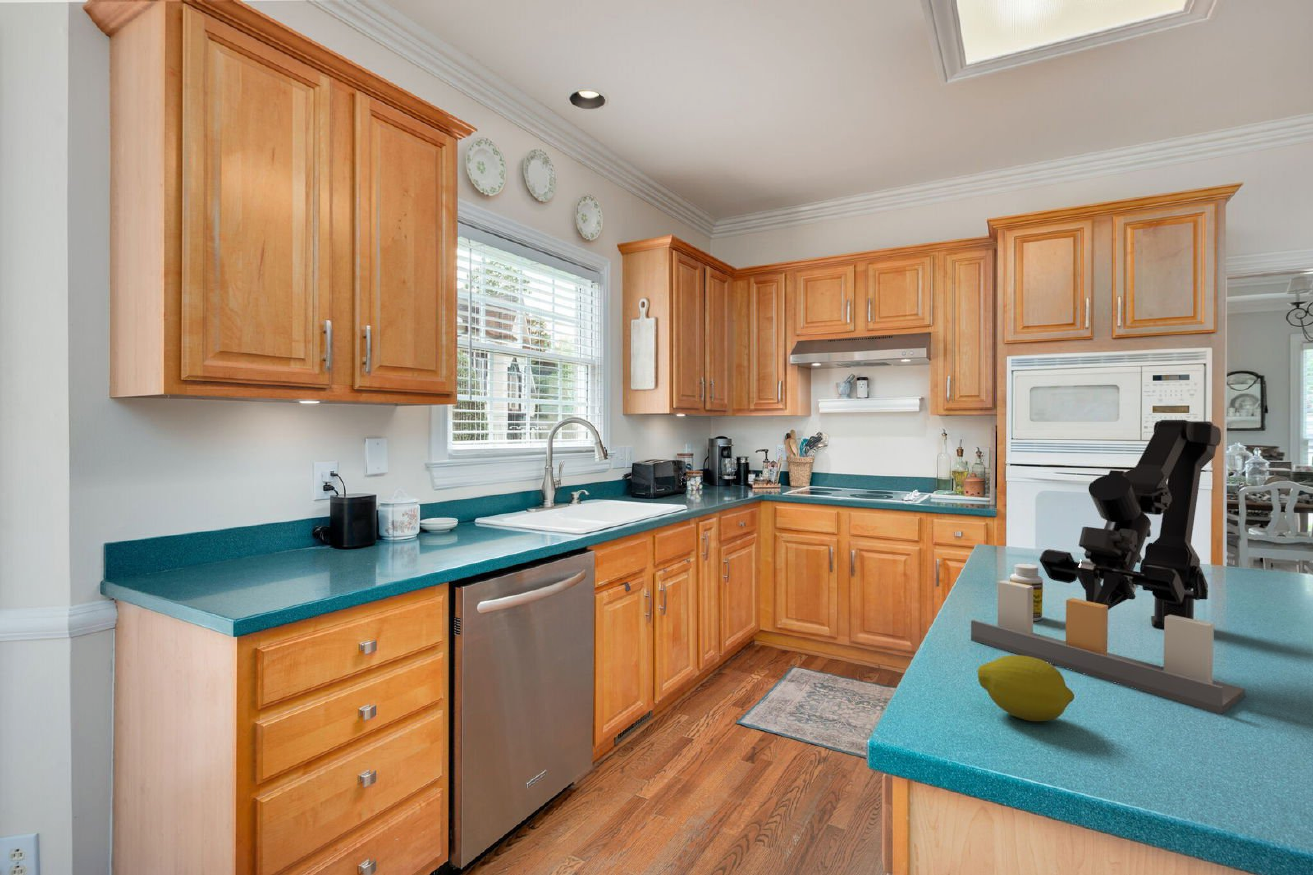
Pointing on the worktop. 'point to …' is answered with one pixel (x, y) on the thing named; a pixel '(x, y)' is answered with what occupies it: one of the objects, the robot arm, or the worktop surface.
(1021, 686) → the lemon
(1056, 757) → the worktop surface
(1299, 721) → the worktop surface
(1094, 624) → the key middle
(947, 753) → the worktop surface
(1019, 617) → the key
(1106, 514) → the robot arm
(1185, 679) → the long grey base rail
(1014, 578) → the supplement bottle
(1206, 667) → the key
